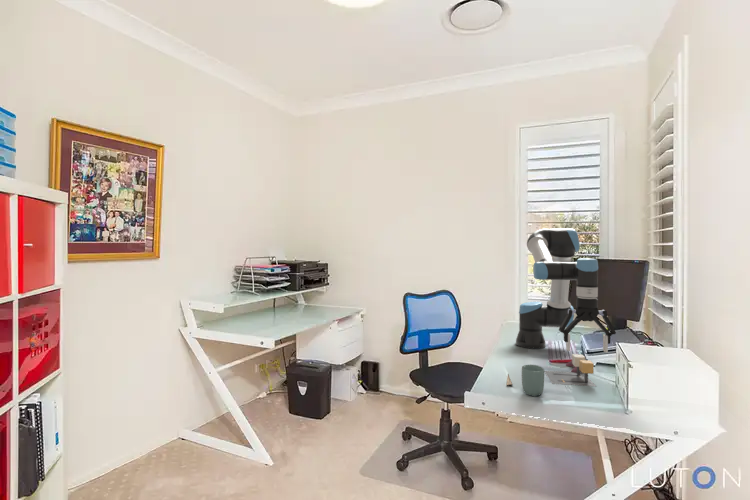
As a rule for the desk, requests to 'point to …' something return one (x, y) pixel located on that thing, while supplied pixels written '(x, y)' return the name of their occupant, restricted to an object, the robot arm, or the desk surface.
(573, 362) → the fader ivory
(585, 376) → the fader amber
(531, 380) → the cup
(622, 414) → the desk surface
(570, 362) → the video game controller
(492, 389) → the desk surface
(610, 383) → the desk surface
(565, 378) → the mixer console
